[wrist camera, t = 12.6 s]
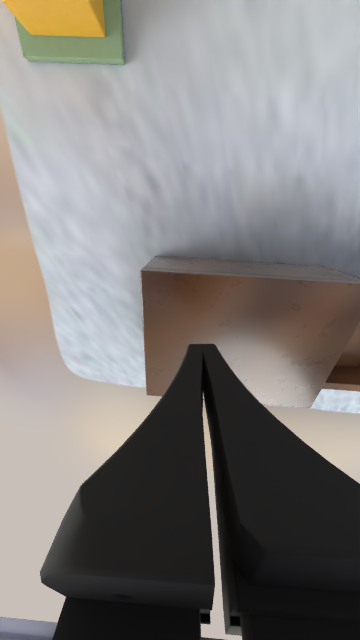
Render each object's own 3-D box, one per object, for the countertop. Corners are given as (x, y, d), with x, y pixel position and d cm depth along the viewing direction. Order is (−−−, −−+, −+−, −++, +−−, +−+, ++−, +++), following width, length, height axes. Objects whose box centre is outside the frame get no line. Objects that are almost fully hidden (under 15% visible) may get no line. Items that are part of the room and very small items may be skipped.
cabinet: (322, 266, 16) (381, 285, 11) (282, 365, 21) (310, 408, 16) (155, 255, 16) (139, 270, 11) (156, 355, 22) (146, 395, 17)
